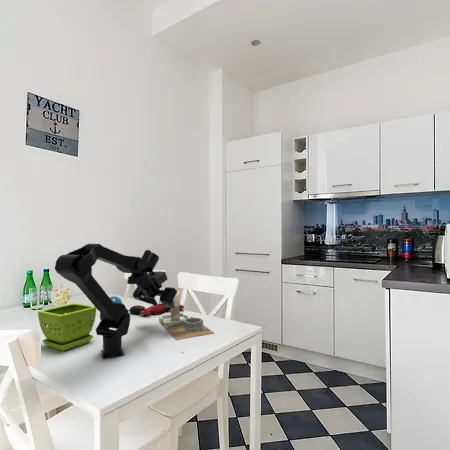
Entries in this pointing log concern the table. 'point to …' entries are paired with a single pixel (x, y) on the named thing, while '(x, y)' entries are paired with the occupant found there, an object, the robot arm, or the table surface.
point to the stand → (184, 327)
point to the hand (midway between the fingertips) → (164, 305)
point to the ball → (115, 299)
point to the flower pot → (67, 325)
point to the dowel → (176, 308)
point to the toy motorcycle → (150, 309)
